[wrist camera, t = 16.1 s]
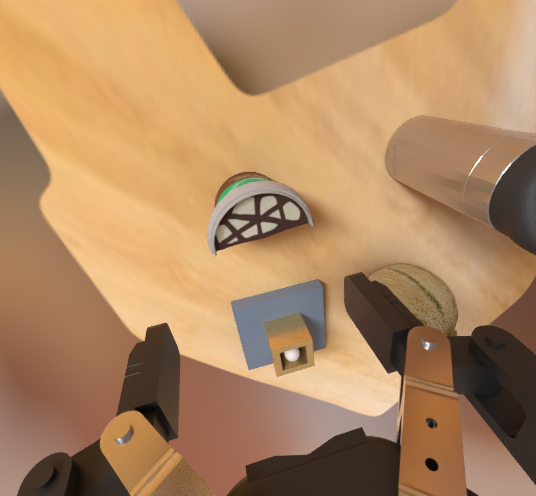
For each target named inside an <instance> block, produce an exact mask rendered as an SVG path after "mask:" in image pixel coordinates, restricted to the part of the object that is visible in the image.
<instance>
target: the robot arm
mask: <svg viewBox="0 0 536 496" xmlns="http://www.w3.org/2000/svg"><path fill="white" fill-rule="evenodd" d="M386 166H387V170H388V172H389V174H390V175H391V176H392V177H393V179H395V180H397V181H399V182H401V183H403V184H405V185H407V186H409V187H411V188H412V189H414V190H416V191H418V192H420V193H422V194H424V195H426V196H428V197H430V198H432V199H434V200H436V201H438V202H440V203H442V204H444V205H446V206H448V207H450V208H452V209H454V210H456V211H458V212H460V213H462V214H464V215H466V216H468V217H470V218H473V219H475V220H477V221H479V222H481V223H483V224H485V225H487V226H489V227H491V228H493V229H495V230H497V231H499V232H501V233H503V234H505V235H507V236H509V237H510V238H511V240H513V241H514V242H515V243H516V244H517V245H519V246H520V247H522V248H523V249H525V250H527V251H529V252H531V253H532V254H534V255H536V134H533V133H527V132H520V131H514V130H508V129H502V128H496V127H490V126H484V125H478V124H472V123H466V122H460V121H454V120H448V119H442V118H436V117H430V116H420V117H416V118H413V119H411V120H409V121H408V122H406V123H405V124H403V125H402V126H401V127H400V128H399V129H398V130H397V132H396V133H395V134H394V135H393V137H392V139H391V141H390V143H389V145H388V148H387V152H386ZM344 303H345V308H346V310H347V313H348V315H349V316H350V318H351V319H352V321H353V322H354V324H355V325H356V327H357V328H358V330H359V331H360V333H361V334H362V336H363V337H364V339H365V340H366V341H367V343H368V344H369V346H370V347H371V349H372V350H373V352H374V353H375V355H376V356H377V358H378V359H379V361H380V362H381V364H382V365H383V367H384V368H385V370H386V371H387V373H388V374H389V373H392V372H395V371H398V373H399V374H400V375H401V382H400V394H399V408H398V419H397V429H396V437H395V442H392V441H390V440H387V439H384V438H380V437H374V436H366V435H365V433H364V431H363V429H362V427H361V428H358V429H355V430H352V431H349V432H346V433H343V434H340V435H337V436H334V437H333V438H331V439H330V440H328V441H327V442H326V443H324V444H323V445H322V446H320V447H319V448H317V449H316V450H314V451H313V452H311V453H310V454H308V455H290V456H273V457H271V458H267V459H264V460H261V461H258V462H255V463H252V464H249V465H247V466H246V473H247V476H246V477H244V478H243V479H242V480H240V481H239V482H238V483H237V484H236V485H235V486H234V487H233V488H232V490H231V491H230V492H229V493H228V494H227V496H478V495H477V494H475V493H474V492H472V491H471V490H469V489H467V488H466V478H465V466H464V454H463V442H462V430H461V418H460V407H459V397H458V394H464V395H465V396H466V398H467V399H468V400H469V401H470V403H471V404H472V405H473V407H474V408H475V409H476V410H477V412H478V413H479V414H480V415H481V417H482V418H483V419H484V420H485V422H486V423H487V424H488V425H489V427H490V428H491V429H492V430H493V432H494V433H495V434H496V436H497V437H498V438H499V439H500V441H502V443H503V444H504V446H505V447H506V448H507V450H509V452H510V453H511V455H512V456H513V457H514V458H515V460H516V461H517V462H518V463H519V465H520V466H521V467H522V468H523V470H524V471H525V472H526V473H527V475H528V476H529V477H530V479H531V480H532V481H533V482H534V484H535V485H536V355H535V354H534V353H533V352H532V351H530V350H529V349H528V348H527V347H526V346H525V345H524V344H522V343H521V342H520V341H519V340H518V339H516V338H515V337H514V336H513V335H512V334H510V333H509V332H507V331H505V330H503V329H501V328H498V327H494V326H488V325H485V326H479V327H477V328H475V329H474V330H473V332H472V335H471V336H446V335H445V334H444V333H442V332H441V331H439V330H438V329H435V328H433V327H429V326H424V325H423V324H422V323H421V322H420V321H419V320H418V319H417V318H416V317H415V316H414V315H413V314H412V313H411V311H410V310H409V309H408V308H407V307H406V306H405V305H404V304H403V303H402V302H400V300H399V299H398V298H397V297H396V296H395V295H394V294H393V292H392V291H391V290H390V289H389V288H388V287H387V286H386V285H384V284H382V283H380V282H378V281H376V280H375V281H370V280H369V279H368V278H367V277H366V276H365V275H364V274H363V273H362V272H360V273H356V274H353V275H349V276H346V277H345V279H344ZM179 380H180V355H179V350H178V347H177V344H176V342H175V340H174V338H173V335H172V333H171V331H170V328H169V326H168V324H167V323H163V324H159V325H155V326H151V327H148V328H147V331H146V337H145V341H144V342H140V343H137V344H136V345H135V347H134V348H133V350H132V352H131V353H130V355H129V359H128V364H127V369H126V373H125V378H124V383H123V388H122V392H121V397H120V402H119V407H118V411H117V415H116V417H115V418H114V419H113V420H112V421H111V422H110V423H109V424H108V425H107V427H106V428H105V430H104V431H103V433H102V436H101V438H100V439H99V440H97V441H96V442H94V443H93V444H91V445H90V446H88V447H86V448H85V449H84V450H82V451H80V452H78V453H77V454H75V455H73V456H72V457H70V456H69V455H68V454H66V453H62V452H59V453H54V454H52V455H49V456H47V457H46V458H44V459H43V460H41V461H40V462H39V463H37V464H36V465H35V466H34V467H33V468H32V469H31V471H30V472H29V473H28V474H27V476H26V477H25V478H24V480H23V482H22V484H21V486H20V489H19V491H18V494H17V496H216V494H215V493H214V492H213V491H212V490H211V489H210V488H209V487H208V485H207V484H206V483H205V482H204V481H203V480H202V479H201V478H200V477H199V475H198V474H197V473H196V472H195V471H194V470H193V469H192V468H191V466H190V465H189V464H188V463H187V462H186V461H185V460H184V459H183V457H182V456H181V455H180V454H179V453H178V452H177V451H174V450H173V449H172V448H171V447H170V446H169V444H168V441H169V440H173V439H176V438H178V416H179V415H178V414H179V382H180V381H179Z"/></svg>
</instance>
